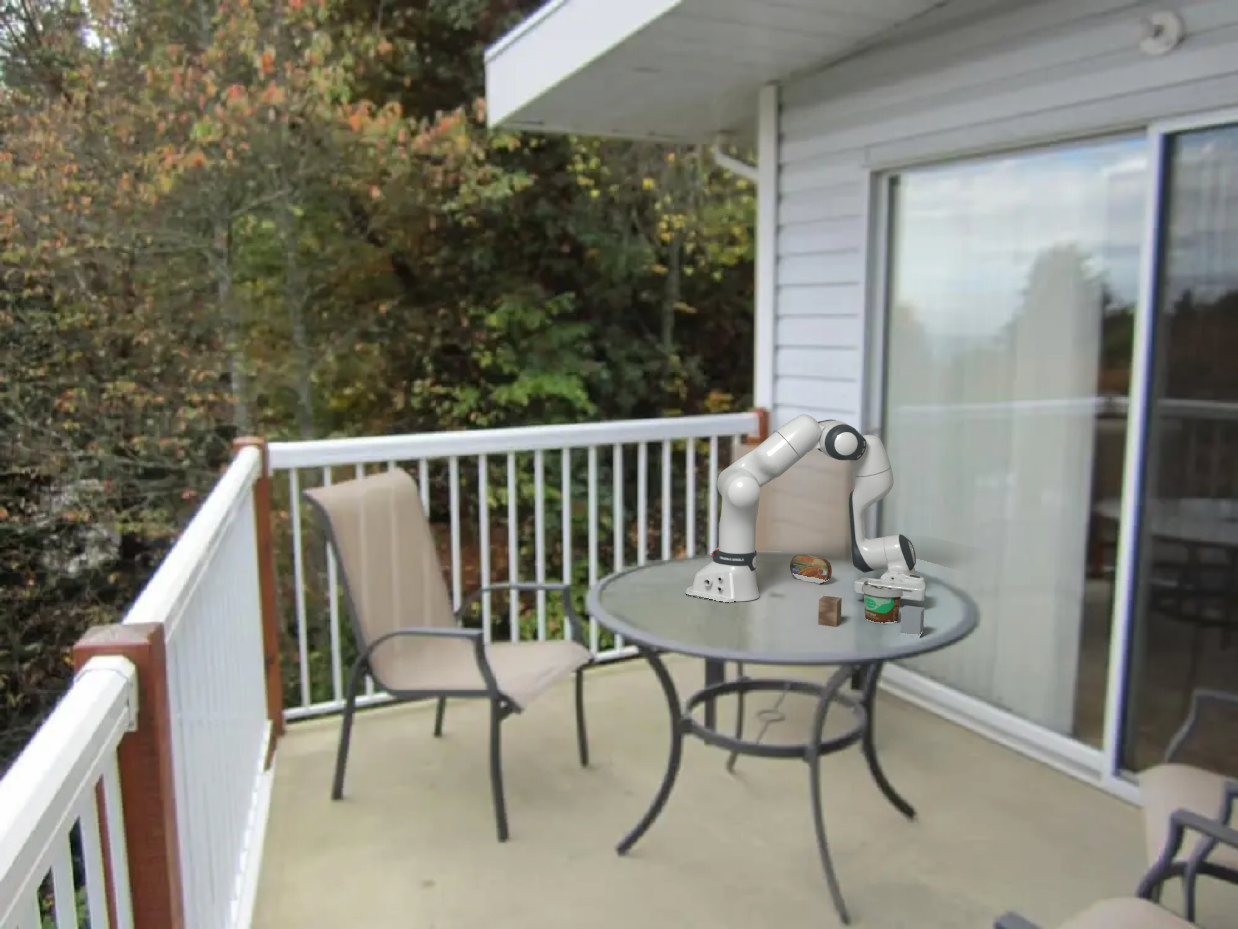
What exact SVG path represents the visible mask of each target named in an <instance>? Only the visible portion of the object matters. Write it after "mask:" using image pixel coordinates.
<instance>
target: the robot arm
mask: <svg viewBox="0 0 1238 929" xmlns="http://www.w3.org/2000/svg"><path fill="white" fill-rule="evenodd" d="M813 450H818V451H819V452H821V453H823V454H824V455H825V456H826V457H829V458H832V459H834V460H838V461H849V462H850V464H851V466H852V470H853V476H854V480H855V485H854V489H852V490H851V491H850V493H849V497H848V515H849V530H850V541H851V543H850V544H851V546H850V548H851V552H850V554H851V557H850V558H851V561H852V566H853V567H854V568H855V569H857V570H859V571H861V572H862V573H864V574H866V573H869V572H874V571H876V570H884V569H887V570H886V571H885V572H884V573H883V574H882V575H881V576H880V578H873V577H861V578H858V579H856V580H855V581H854V583H853V584H854V587H853V591H854V593H856V594H858V595H864V593H863V592H862V591H861V589H862V585H863V584H864V582H865V581H868V584H870V585H874V586H884V587H887V588H890V589H901V588H902V591H903V596H901V599H903V600H909V601H917V602H924V601H925V599H926V587H927V586H926V583H925V582H926V581H925V578H924V577H922V576H918V575H917V571H916V568H915V566H916V564H917V557H916V551H915V547H914V545H913V543H912V541H911V540H910V539H909V538H908V537H907V536H905V535H903V534H901V533H899V534H894V535H893V534H892V535H887V536H883V537H881V536H879V537H875V538H874V537H873V538H867V537H866V527H865V511H866V510H867V509H868V508H870V507H871V506H872V505H874V504H876V503H877V502H879V501H881V500H882V499H884V498H885V497H886V496H887V495H888V494H889V493H890V492H891V490H892V488H893V487H894V484H895V483H894V482H895V480H894V472H893V469H892V464H891V462H890V459H889V458H890V457H889V456H888V452H887V450H886V449H885V446H884V443H883V441H882V440H881V438H879V437H878V436H876V435H873V434H863V435H862V434H861V433H860V432H859V431H858V430H857V429H856V428H855V427H853V426H852V425H849V424H848V423H846V422H845V421H842V420H836V419H825V420H821V421H817V420H816V418H814V417H813V416H811V415H808V414H800V415H798V416H796V417H794V418H793V419H790V420H789V421H787V422H786V423H785V424H783V425H782V426H781V427H779V428H778V429H777V430H775V432H773V433H772V434H771V435H769V437H767V438H766V439H765V440H764V441H763V442H761V443H760V444H759V445H757V446H756V447H755V448H754V449H753V450H751V451H749V452H748V453H746V454H745V455H743V456H741V457H740V458H738V460H736V461H735V462H733V463H731V464H730V465H729V466H727V467H726V468H725V469H723V470H722V471H721V472H720V473H719V475H718V477H717V482H716V487H717V490H718V493H719V495H720V496H721V511H720V518H719V523H718V547H716V549H714V550H713V551H712V552H711V553H710V557H712V561H710V562H709V563H707V564H706V565H704V567H701V569H700V570H698V571H697V572H696V573H695V575H694V578H693V581H692V582H693V583H692V585H691V586H688V587H687V588H686V589H685V593H686V594H689V595H697V596H701V597H704V598H709V599H713V600H712V601H714V600H716V601H715V602H719V601H723V602H722V603H725V602H729V603H734V601H736V602H747V601H748V602H749V601H754V600H757V599H759V598H760V597H761V595H760V592H759V588H758V582H757V571H756V570H757V565H758V554H757V553H758V552H757V550H756V540H757V539H756V537H757V536H756V535H757V534H756V530H757V519H758V515H759V514H758V513H759V506H760V499H761V498H760V496H761V488H762V487H763V486H765V485H766V484H768V483H769V482H771V481H773V480H775V479H776V478H779V477H781V476H782V475H783V474H784V473H785V472H787V471H788V470H789V469H790V468H791V467H792V466H794V465H795V464H797V463H798V461H800V460H801V459H802V458H803V457H804V456H805V455H806V454H808V453H809V452H811V451H813ZM686 594H685V595H686ZM759 596H760V597H759ZM704 598H703V599H704ZM709 599H708V600H709Z"/></svg>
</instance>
